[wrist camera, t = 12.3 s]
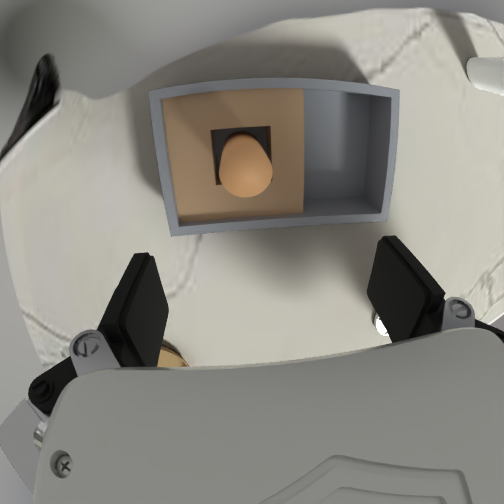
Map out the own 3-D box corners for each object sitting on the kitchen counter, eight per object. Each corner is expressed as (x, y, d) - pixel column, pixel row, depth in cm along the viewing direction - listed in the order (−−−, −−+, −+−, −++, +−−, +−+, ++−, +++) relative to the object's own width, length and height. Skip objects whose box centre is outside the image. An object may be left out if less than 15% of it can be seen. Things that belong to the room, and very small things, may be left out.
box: (372, 88, 26) (399, 89, 21) (366, 201, 34) (387, 221, 29) (163, 91, 25) (148, 91, 20) (180, 212, 33) (171, 236, 28)
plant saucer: (107, 346, 47) (104, 357, 44) (160, 327, 44) (158, 338, 42) (154, 383, 54) (152, 393, 52) (207, 369, 51) (207, 380, 49)
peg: (259, 130, 27) (271, 145, 19) (260, 164, 30) (273, 195, 21) (221, 132, 27) (216, 149, 19) (224, 167, 29) (221, 199, 21)
